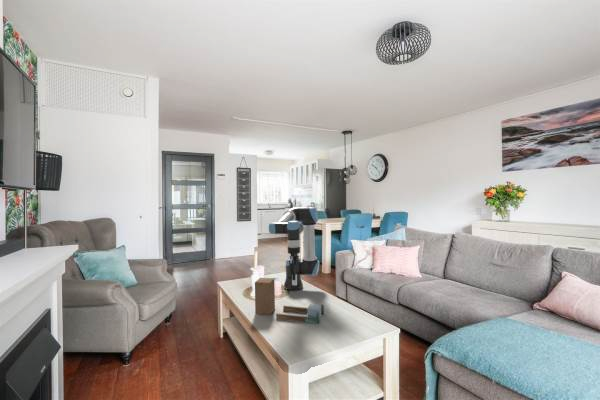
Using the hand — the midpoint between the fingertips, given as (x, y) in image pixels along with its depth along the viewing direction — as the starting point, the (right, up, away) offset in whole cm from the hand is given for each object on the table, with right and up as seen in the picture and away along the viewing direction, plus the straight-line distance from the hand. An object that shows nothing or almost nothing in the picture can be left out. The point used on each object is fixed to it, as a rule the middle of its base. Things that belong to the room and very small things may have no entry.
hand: (294, 284), depth 173 cm
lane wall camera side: (+2, -19, -7) cm, 20 cm away
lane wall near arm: (+5, -19, +5) cm, 20 cm away
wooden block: (-19, -19, +8) cm, 28 cm away
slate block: (+12, -19, -4) cm, 23 cm away
